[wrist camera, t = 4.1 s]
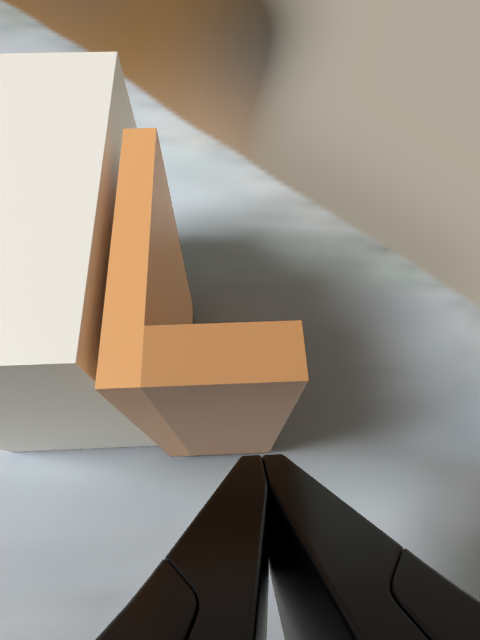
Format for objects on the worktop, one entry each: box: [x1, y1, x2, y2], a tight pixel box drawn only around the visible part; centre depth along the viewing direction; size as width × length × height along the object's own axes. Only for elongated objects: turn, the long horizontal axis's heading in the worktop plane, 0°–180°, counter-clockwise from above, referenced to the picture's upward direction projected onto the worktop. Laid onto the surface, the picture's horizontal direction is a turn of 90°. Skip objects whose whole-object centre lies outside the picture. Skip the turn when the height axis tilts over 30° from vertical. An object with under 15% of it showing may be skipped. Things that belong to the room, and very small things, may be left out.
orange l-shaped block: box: [95, 128, 309, 457], centre depth 13 cm, size 6×4×10 cm, turn 2°
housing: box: [0, 52, 158, 452], centre depth 14 cm, size 10×6×10 cm, turn 2°
